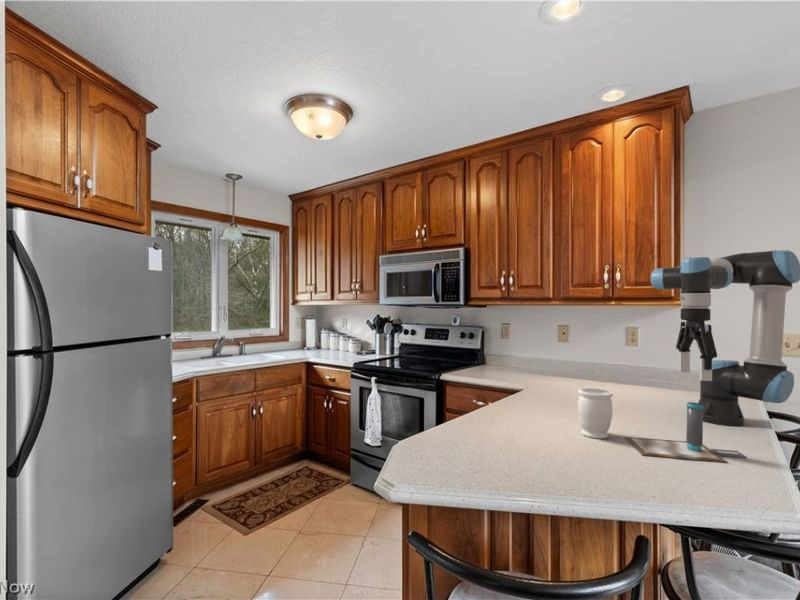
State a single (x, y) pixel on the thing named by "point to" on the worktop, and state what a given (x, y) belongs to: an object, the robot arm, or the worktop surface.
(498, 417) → the worktop surface
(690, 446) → the grey and teal cylinder
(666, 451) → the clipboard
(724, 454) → the grey slotted plate
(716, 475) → the worktop surface
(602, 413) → the jar
